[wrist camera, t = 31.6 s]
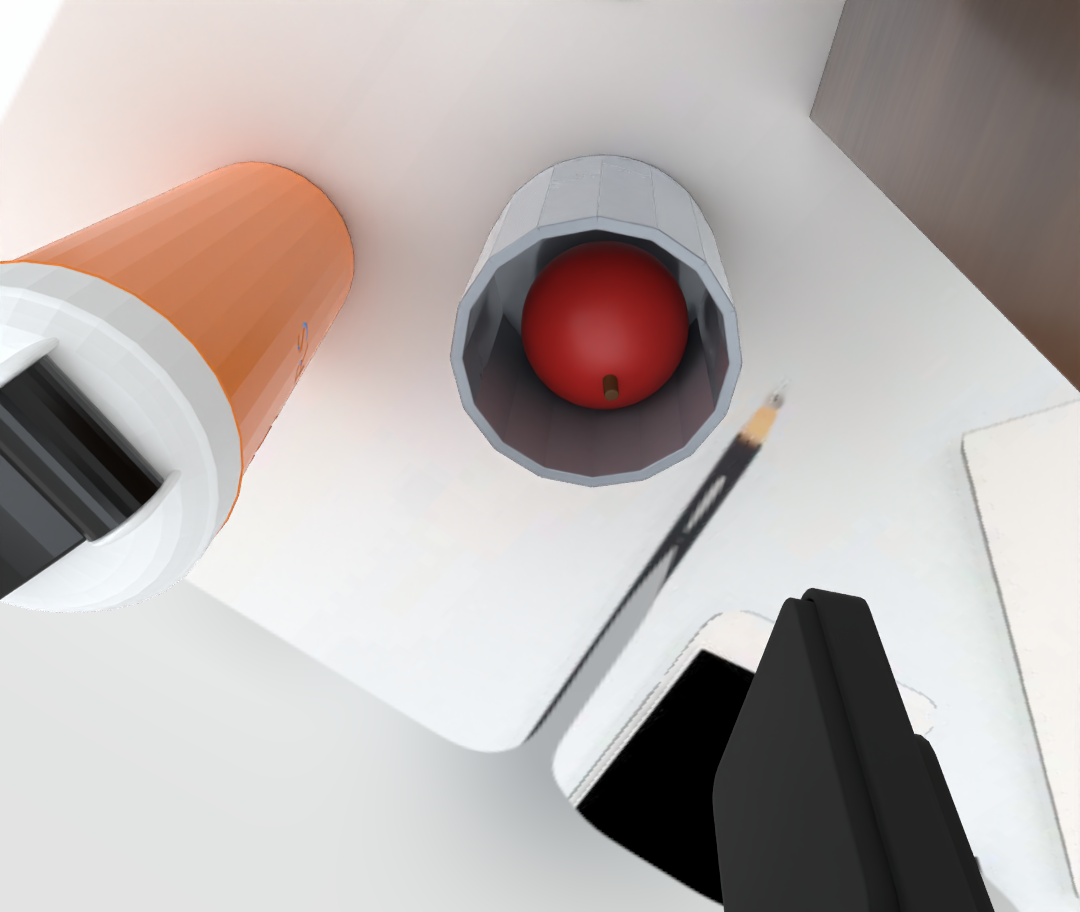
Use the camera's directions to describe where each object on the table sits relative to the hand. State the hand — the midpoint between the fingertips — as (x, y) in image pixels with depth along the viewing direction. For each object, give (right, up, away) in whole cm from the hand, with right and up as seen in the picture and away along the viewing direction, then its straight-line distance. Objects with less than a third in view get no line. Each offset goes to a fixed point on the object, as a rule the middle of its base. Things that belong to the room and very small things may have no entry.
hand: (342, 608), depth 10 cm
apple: (+4, +8, +27) cm, 28 cm away
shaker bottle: (-9, +10, +28) cm, 31 cm away
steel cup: (+4, +9, +27) cm, 29 cm away
